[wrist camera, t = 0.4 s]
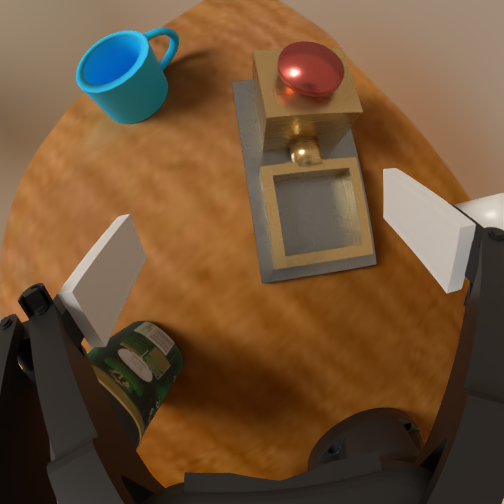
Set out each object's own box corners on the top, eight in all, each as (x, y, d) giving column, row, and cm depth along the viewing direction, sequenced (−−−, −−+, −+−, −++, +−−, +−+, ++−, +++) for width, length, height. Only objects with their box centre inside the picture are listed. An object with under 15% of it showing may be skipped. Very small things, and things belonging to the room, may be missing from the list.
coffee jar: (146, 407, 30) (76, 511, 11) (98, 360, 30) (-5, 432, 11) (198, 358, 30) (144, 470, 11) (145, 306, 30) (34, 362, 11)
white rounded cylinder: (465, 239, 30) (520, 235, 20) (441, 244, 30) (497, 241, 20) (460, 204, 30) (514, 191, 20) (436, 207, 30) (490, 193, 20)
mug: (131, 136, 30) (101, 106, 22) (95, 103, 30) (64, 73, 22) (205, 67, 30) (195, 24, 22) (163, 41, 30) (147, 1, 22)
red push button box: (373, 264, 30) (428, 268, 19) (262, 282, 30) (268, 298, 19) (333, 79, 30) (360, 22, 19) (232, 86, 30) (225, 24, 19)
